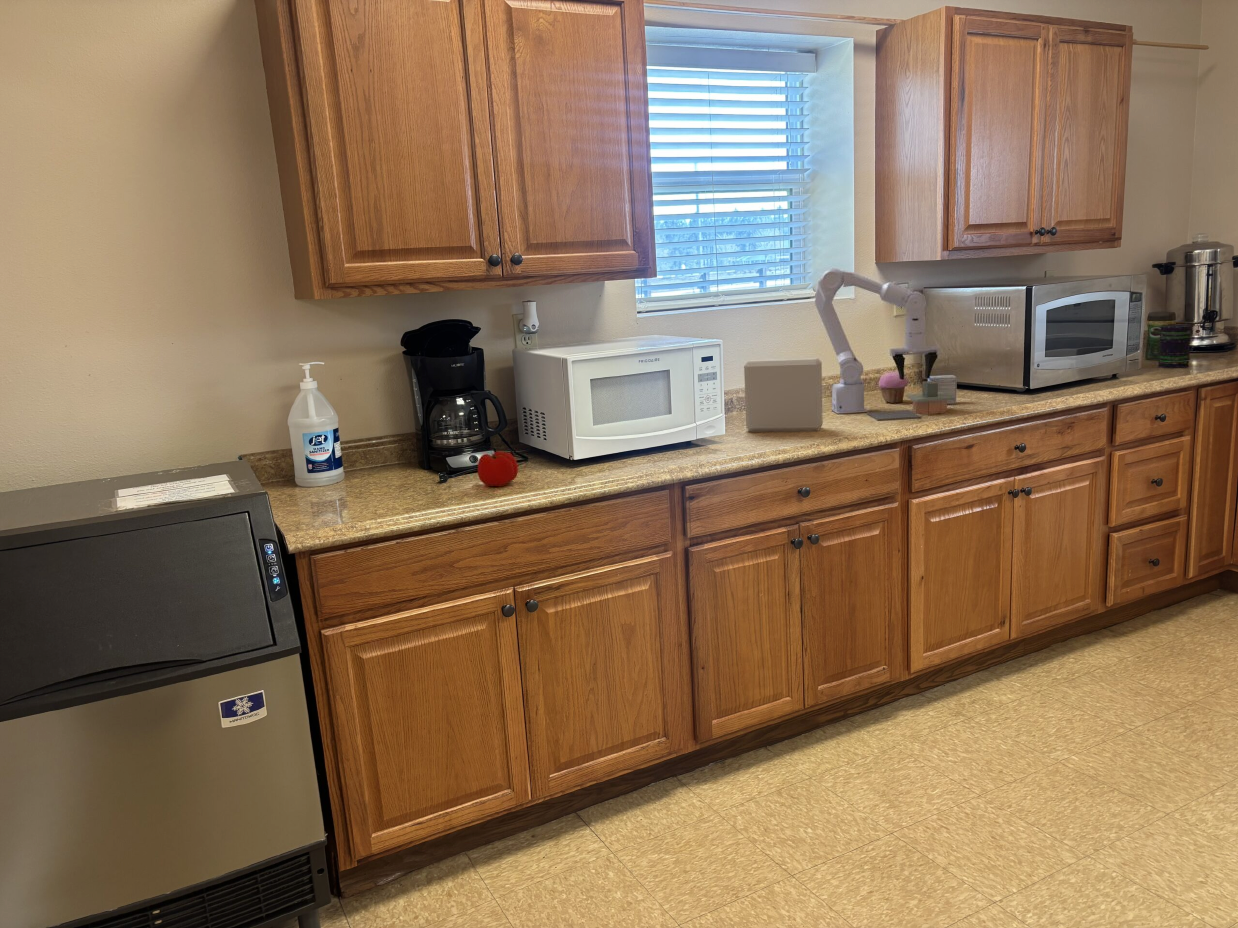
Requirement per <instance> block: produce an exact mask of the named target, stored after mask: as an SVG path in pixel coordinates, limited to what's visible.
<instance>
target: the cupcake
mask: <svg viewBox="0 0 1238 928" xmlns="http://www.w3.org/2000/svg"><path fill="white" fill-rule="evenodd" d="M908 382H909V381H908V379H907V377H906V376H905V375H904V380H901V379H900V377H899V372H898V371H892V372H886V373H884V374H882V375H881V377H880V378H879V380H878V387H879V388H880V391H881V396H882V398H883V400H884V401H885V402H886V403H890V404H896V403H902V402H903V401H904V397H905V388H906V387H907V386H908V384H909V383H908Z"/></svg>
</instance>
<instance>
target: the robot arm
mask: <svg viewBox="0 0 1238 928" xmlns="http://www.w3.org/2000/svg"><path fill="white" fill-rule="evenodd" d="M842 286H843V288H847V287H848V288H849V287H857V288H859V289H862V290H866V291H867V292H868V291H869V292H871V293H874V294H877V295H879V297H880V300H881V301H883V302H885V303H887V304H888V303H889V304H891V305H894V306H896V307H899V308H904V307H905V309H906V315H905V316H906V317H905V320H904V321H905V322H904V323H905V324H904V325H905V326H904V329H905V330H904V347H900V348H889V356H890V357H892V359H893V361H894V363H895V366H896V369H897V373H899V377H900V379H901V380H904V376H905V361H906V357H904V356H908V355H909V356H910V355H911V356H912V355H924V364H925V365H924V368H925V369H924V378H926V379H928V378H930V376H931V373H932V370H933V367H934V365H935V363H936V361H937V359H938V355H939V354H941V346H937V345H936V346H926V317H925V315H926V309H925V308H926V306H927V301H926V297H925V295H924V294H923V293H922V292H920V291H917V290H916V291H914V288H912V287H910V288H907V287H904V286H901V285H899V284H898V282H896V281H893V282H890V281H889V282H887V283H884V284H883V283H880V282H877V281H875V280H874V279H871V278H868V277H865V276H864V275H860V274H858V273H855V272H852V271H848V270H841V269H839V268H831V269H827V270H825V271H824V272H823V273H822V275H821V276H820V278H819V280H818V283H817V289H816V294H815V300H814V305H815V307H816V310H817V311H818V314H819V317H820V319H821V322H822V324H823V326H824V328H825V330H826V334H827V336H828V338H829V341H830V344H831V345H832V347H833V350H834V352H835V355H836V358H837V362H838V364H839V367H840V369H839V370H840V371H839V375H840V378H841V380H840V381H839V383H834V384H832V388H831V395H832V397H831V401H832V404H831V407H832V408H831V410H832V411H833V412H835V413H836V414H851V413H852V414H853V413H867V412H869V410H868V409H866V408H865V380H863V378H862V375H863V372H864V366H863V364H862V362H861V361H860V360H858V358H857V357H856V355H855V353H854V350H852V347H851V345H850V343H849V339H848V338H847V335H846V333H845V330H844V329H843V325H842V324H841V321H840V319H839V316H838V314H837V311H836V309H835V308H834V305H833V300H834V298H835V296H836V294H837V292H838V291H839V290H840V289H841V288H842Z"/></svg>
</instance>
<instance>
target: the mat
mask: <svg viewBox="0 0 1238 928" xmlns="http://www.w3.org/2000/svg"><path fill="white" fill-rule="evenodd" d="M866 415H868V417H871V418H872V417H873V418H872V419H874V420H876V421H877V422H878V421H879V422H881V421H882V420H883V421H897V420H914V419H915V418H916V419H921V418H922V416H921V415H920V414H919V415H918V414H917V413H915V412H913V411H910V410H909V409H903V410H901V409H899V410H887V411H886V410H883V411H872V412H871V411H870V412H869V411H868V412H866ZM883 421H882V422H883Z"/></svg>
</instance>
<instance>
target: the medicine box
mask: <svg viewBox="0 0 1238 928" xmlns="http://www.w3.org/2000/svg"><path fill="white" fill-rule="evenodd" d="M957 378H958V377H957V376H955V375H954V374H950V375H949V374H948V375H947V374H946V375H930V378H927V381H933V382H936V383H938V392H943V393H946V394H948V395H951V396H953V397H955V400H947V405H955V404H957V390H958V389H957V388H958V387H957Z"/></svg>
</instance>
